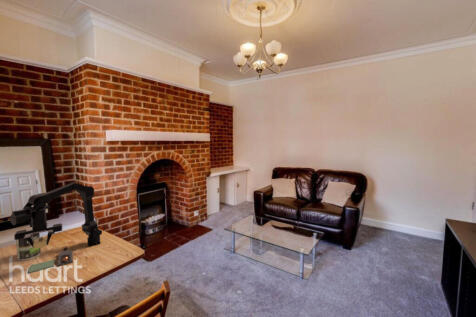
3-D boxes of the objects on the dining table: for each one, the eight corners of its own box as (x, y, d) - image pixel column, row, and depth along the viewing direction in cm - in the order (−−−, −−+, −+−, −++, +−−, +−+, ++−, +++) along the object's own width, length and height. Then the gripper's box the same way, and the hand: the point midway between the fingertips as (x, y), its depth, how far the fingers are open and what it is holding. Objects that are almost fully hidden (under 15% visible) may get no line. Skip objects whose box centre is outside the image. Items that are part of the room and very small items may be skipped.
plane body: (58, 255, 129) (58, 247, 129) (72, 251, 133) (72, 244, 133) (57, 266, 117) (57, 258, 117) (72, 262, 121) (72, 254, 121)
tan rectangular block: (35, 243, 118) (34, 238, 118) (47, 241, 121) (47, 235, 121) (33, 249, 112) (33, 243, 112) (46, 246, 115) (46, 240, 115)
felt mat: (54, 260, 124) (54, 259, 124) (53, 266, 118) (53, 265, 118) (30, 266, 118) (30, 265, 118) (28, 273, 111) (28, 272, 111)
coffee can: (45, 252, 132) (44, 230, 131) (26, 261, 122) (24, 237, 121) (32, 250, 134) (30, 228, 133) (12, 259, 124) (10, 236, 123)
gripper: (61, 211, 127) (63, 236, 129) (17, 217, 116) (19, 245, 117) (61, 216, 119) (63, 243, 120) (12, 224, 107) (15, 254, 109)
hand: (40, 246), depth 117 cm, fingers closed on tan rectangular block, 5 cm apart
